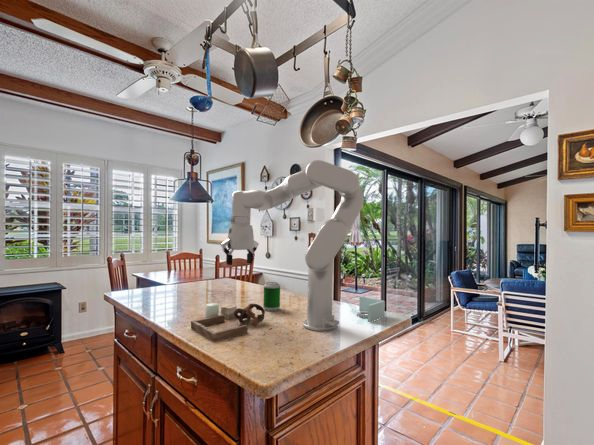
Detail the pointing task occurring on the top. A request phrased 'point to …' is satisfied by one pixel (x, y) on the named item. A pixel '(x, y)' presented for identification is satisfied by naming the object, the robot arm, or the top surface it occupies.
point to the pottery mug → (249, 314)
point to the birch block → (228, 311)
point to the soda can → (271, 296)
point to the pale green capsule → (212, 310)
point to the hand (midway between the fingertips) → (239, 263)
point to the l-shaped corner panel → (371, 308)
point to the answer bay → (214, 336)
